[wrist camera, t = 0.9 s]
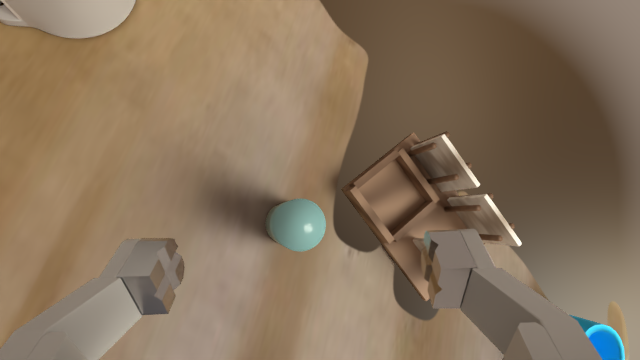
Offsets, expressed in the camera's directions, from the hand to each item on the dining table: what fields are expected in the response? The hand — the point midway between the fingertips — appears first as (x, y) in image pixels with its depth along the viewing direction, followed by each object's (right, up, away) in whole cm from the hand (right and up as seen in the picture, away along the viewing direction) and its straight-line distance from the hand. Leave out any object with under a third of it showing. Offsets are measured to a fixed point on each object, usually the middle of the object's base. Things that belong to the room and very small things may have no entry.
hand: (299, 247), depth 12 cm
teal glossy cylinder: (-4, -4, +36) cm, 36 cm away
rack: (+15, -3, +41) cm, 44 cm away
